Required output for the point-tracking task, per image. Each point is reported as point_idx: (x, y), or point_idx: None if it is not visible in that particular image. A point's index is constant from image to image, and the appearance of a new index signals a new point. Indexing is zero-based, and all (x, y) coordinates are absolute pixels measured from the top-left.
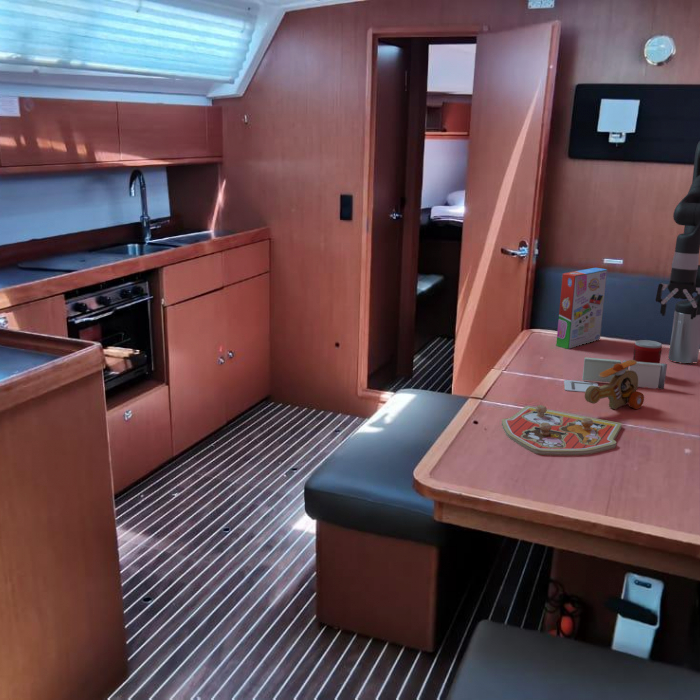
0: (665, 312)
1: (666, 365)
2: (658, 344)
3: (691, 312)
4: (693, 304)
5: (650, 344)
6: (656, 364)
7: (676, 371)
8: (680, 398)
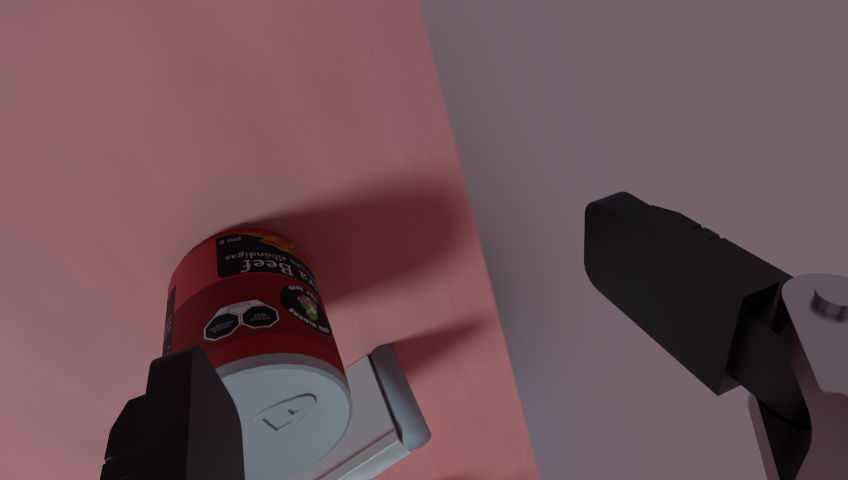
0: (193, 374)
1: (429, 435)
2: (319, 389)
3: (655, 340)
4: (793, 449)
5: (276, 423)
6: (391, 461)
7: (322, 52)
8: (470, 377)
